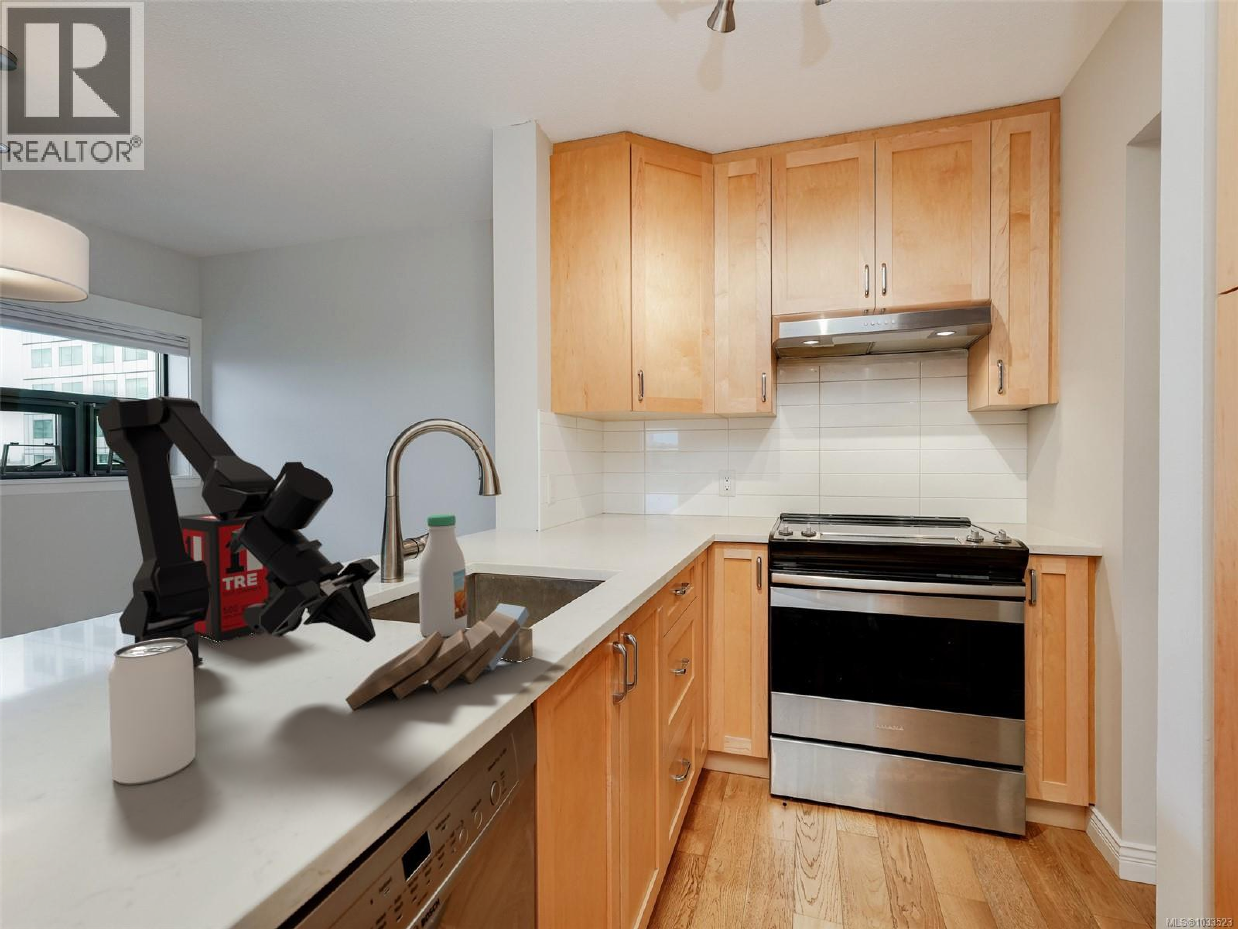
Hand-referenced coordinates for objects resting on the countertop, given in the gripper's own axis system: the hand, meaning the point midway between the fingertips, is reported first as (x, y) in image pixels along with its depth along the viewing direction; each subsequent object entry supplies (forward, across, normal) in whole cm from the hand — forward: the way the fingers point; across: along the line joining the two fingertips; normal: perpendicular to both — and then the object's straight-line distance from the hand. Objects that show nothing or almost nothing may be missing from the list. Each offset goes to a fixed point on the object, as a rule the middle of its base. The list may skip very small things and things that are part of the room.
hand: (372, 639), depth 75 cm
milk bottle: (+5, -26, -6) cm, 27 cm away
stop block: (+15, -14, +5) cm, 21 cm away
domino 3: (+9, -2, 0) cm, 9 cm away
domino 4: (+11, -5, +2) cm, 12 cm away
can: (-4, +18, -14) cm, 23 cm away
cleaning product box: (-24, -28, -34) cm, 50 cm away
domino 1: (+4, 0, -5) cm, 7 cm away
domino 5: (+12, -8, +4) cm, 15 cm away
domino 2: (+6, -1, -2) cm, 7 cm away
